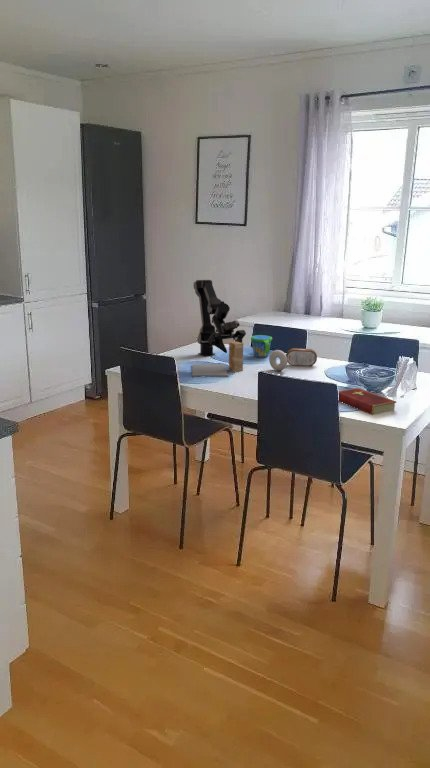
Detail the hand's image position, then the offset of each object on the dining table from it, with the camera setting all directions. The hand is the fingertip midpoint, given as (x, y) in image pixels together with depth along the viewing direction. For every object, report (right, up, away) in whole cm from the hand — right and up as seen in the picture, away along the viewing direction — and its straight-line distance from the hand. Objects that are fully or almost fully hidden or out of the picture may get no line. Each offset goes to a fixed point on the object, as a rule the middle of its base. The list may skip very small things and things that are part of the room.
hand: (234, 351), depth 288 cm
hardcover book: (+49, -24, -48) cm, 73 cm away
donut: (+20, -9, +1) cm, 22 cm away
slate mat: (-12, -9, -1) cm, 15 cm away
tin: (+33, -7, +11) cm, 35 cm away
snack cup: (+15, -1, +29) cm, 32 cm away
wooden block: (+1, -9, +2) cm, 9 cm away
